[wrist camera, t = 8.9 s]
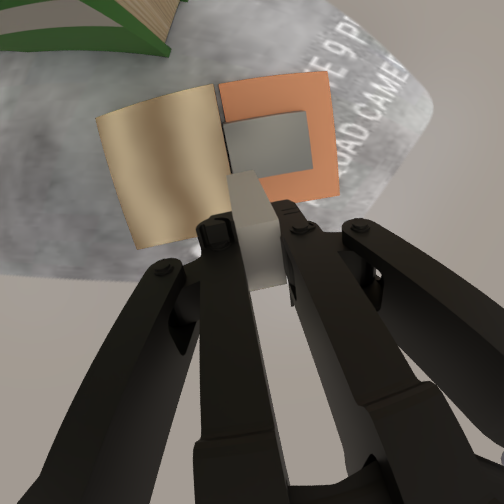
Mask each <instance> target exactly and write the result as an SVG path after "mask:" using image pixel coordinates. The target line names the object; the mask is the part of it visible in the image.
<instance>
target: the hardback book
mask: <svg viewBox="0 0 504 504" xmlns="http://www.w3.org/2000/svg"><path fill="white" fill-rule="evenodd" d="M180 1H183V2H188V0H0V50H1V51H19V52H38V51H60V50H89V51H112V52H126V53H136V54H146V55H154V56H161V57H168V58H169V55H170V52H171V48H169V47H168V46H167V45H166V44H165V41H166V38H167V35H168V32H169V29H170V26H171V23H172V21H173V18H174V15H175V12H176V9H177V7H178V4H179V2H180Z"/></svg>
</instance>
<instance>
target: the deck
mask: <svg viewBox="0 0 504 504" xmlns="http://www.w3.org/2000/svg"><path fill="white" fill-rule="evenodd" d="M95 119H96V123H97V127H98V131H99V135H100V138H101V142H102V146H103V149H104V153H105V156H106V160H107V163H108V167H109V170H110V173H111V177H112V180H113V183H114V186H115V189H116V192H117V195H118V198H119V201H120V204H121V207H122V210H123V213H124V216H125V219H126V221H127V224H128V227H129V230H130V232H131V235H132V238H133V241H134V243H135V246H136V248H137V250H139V249H143V248H148V247H152V246H157V245H161V244H166V243H171V242H175V241H180V240H185V239H189V238H194V237H198V236H197V233H196V227H197V225H198V224H199V223H201V222H202V221H204V220H206V219H208V218H209V217H210V216H211V215H215V214H220V213H225V212H230V211H232V209H231V203H230V196H229V190H228V184H227V178H226V175H231V170H230V165H229V160H228V155H227V150H226V145H225V140H224V135H223V130H222V125H221V120H220V115H219V110H218V105H217V100H216V95H215V90H214V85H213V84H209V85H204V86H200V87H195V88H191V89H187V90H183V91H179V92H175V93H171V94H167V95H164V96H160V97H156V98H153V99H150V100H146V101H143V102H140V103H137V104H133V105H130V106H127V107H124V108H121V109H119V110H116V111H113V112H110V113H107V114H105V115H102V116H99V117H97V118H95Z"/></svg>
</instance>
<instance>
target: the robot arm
mask: <svg viewBox="0 0 504 504" xmlns="http://www.w3.org/2000/svg"><path fill="white" fill-rule="evenodd" d="M226 178H227V184H228V190H229V196H230V203H231V209H232V211H230V212H225V213H220V214H215V215H211V216H210V217H209V218H208V219H206V220H204V221H202V222H201V223H199V224H198V225H197V227H196V233H197V236H198V240H199V243H200V247H201V257H200V258H198V259H196V260H195V261H193V262H191V263H188V264H186V265H182V263H181V261H180V260H178V259H176V258H168V259H162V260H159V261H157V262H156V263H154V264H153V265H151V266H150V267H149V268H148V269H147V271H146V272H145V274H144V275H143V277H142V278H141V280H140V282H139V283H138V285H137V287H136V288H135V290H134V291H133V293H132V295H131V296H130V298H129V299H128V301H127V303H126V305H125V306H124V308H123V310H122V311H121V313H120V314H119V316H118V318H117V320H116V321H115V323H114V325H113V327H112V328H111V330H110V332H109V333H108V335H107V337H106V339H105V341H104V342H103V344H102V346H101V348H100V349H99V352H98V353H97V355H96V357H95V359H94V360H93V362H92V364H91V366H90V368H89V370H88V372H87V374H86V376H85V378H84V379H83V381H82V383H81V385H80V388H79V389H78V391H77V393H76V395H75V397H74V399H73V401H72V403H71V405H70V407H69V409H68V412H67V414H66V416H65V418H64V420H63V422H62V424H61V427H60V429H59V431H58V433H57V435H56V438H55V440H54V443H53V444H52V447H51V449H50V451H49V454H48V456H47V459H46V461H45V463H44V466H43V468H42V471H41V473H40V476H39V477H38V478H37V480H36V481H35V482H34V483H33V484H32V486H31V487H30V488H29V489H28V490H27V492H26V493H25V494H24V495H23V497H22V498H21V499H20V500H19V501H18V503H17V504H149V503H150V500H151V496H152V492H153V489H154V485H155V481H156V478H157V474H158V470H159V467H160V463H161V459H162V456H163V452H164V449H165V446H166V442H167V439H168V435H169V432H170V428H171V425H172V422H173V418H174V415H175V412H176V408H177V404H178V402H179V398H180V395H181V392H182V388H183V385H184V382H185V378H186V375H187V372H188V369H189V365H190V362H191V359H192V356H193V352H194V349H195V346H196V343H197V340H198V337H199V334H200V405H201V438H200V440H198V441H197V442H195V445H194V449H193V474H194V491H195V504H504V452H503V454H502V457H501V461H502V464H503V465H500V464H498V463H495V462H493V461H490V460H488V459H485V458H483V457H481V456H478V455H476V454H474V452H473V450H472V448H471V446H470V444H469V442H468V440H467V438H466V436H465V434H464V432H463V430H462V428H461V426H460V424H459V422H458V421H457V419H456V417H455V415H454V413H453V411H452V410H451V408H450V406H449V404H448V402H447V401H446V399H445V397H444V395H443V393H442V392H441V391H440V389H441V390H442V391H443V392H444V393H445V394H446V395H447V396H448V398H449V399H451V401H452V402H453V403H454V404H455V405H456V406H457V407H458V408H459V409H460V410H461V411H462V412H463V413H464V414H465V416H466V417H467V418H468V419H469V420H470V421H471V422H472V423H473V424H474V425H475V426H476V427H477V428H478V429H479V430H480V431H481V432H482V433H483V434H484V435H485V436H487V437H488V438H489V439H491V440H492V441H493V442H495V443H496V444H498V445H500V446H501V447H503V448H504V308H502V307H501V306H500V305H499V304H497V303H496V302H495V301H493V300H492V299H491V298H489V297H488V296H487V295H485V294H484V293H482V292H481V291H480V290H478V289H477V288H476V287H474V286H473V285H471V284H470V283H468V282H467V281H466V280H464V279H463V278H462V277H460V276H459V275H457V274H456V273H454V272H453V271H451V270H450V269H448V268H447V267H446V266H444V265H443V264H441V263H440V262H438V261H437V260H435V259H433V258H432V257H430V256H429V255H427V254H426V253H424V252H423V251H421V250H420V249H418V248H416V247H415V246H413V245H412V244H410V243H408V242H406V241H405V240H404V239H402V238H400V237H399V236H397V235H395V234H394V233H392V232H390V231H389V230H387V229H385V228H384V227H382V226H380V225H379V224H377V223H375V222H373V221H371V220H367V219H363V218H359V219H358V218H354V219H351V220H348V221H346V222H344V223H343V225H342V232H323V231H322V230H321V228H320V227H319V226H318V225H317V224H316V223H314V222H311V221H307V220H306V218H305V217H304V215H303V214H302V212H301V211H300V209H299V208H298V207H297V205H296V204H295V202H293V201H290V200H288V199H285V200H280V201H275V202H270V201H269V199H268V197H267V195H266V193H265V191H264V189H263V187H262V185H261V183H260V181H259V179H258V177H257V176H256V174H255V172H254V170H251V171H246V172H241V173H236V174H231V175H226ZM376 269H377V270H379V271H380V273H381V274H382V276H381V278H380V277H379V276H377V275H376ZM286 276H287V278H288V282H289V290H290V300H291V306H294V305H295V308H296V311H297V314H298V316H299V319H300V322H301V325H302V328H303V331H304V333H305V336H306V339H307V342H308V345H309V348H310V351H311V353H312V356H313V359H314V362H315V365H316V368H317V371H318V374H319V377H320V380H321V383H322V386H323V388H324V391H325V394H326V397H327V400H328V403H329V406H330V409H331V412H332V415H333V418H334V421H335V424H336V427H337V430H338V434H339V436H340V440H341V443H342V446H343V449H344V455H345V464H346V470H347V473H348V477H347V478H346V479H344V480H342V481H340V482H339V483H336V484H332V485H316V486H315V485H314V486H290V482H289V478H288V474H287V470H286V466H285V461H284V456H283V451H282V447H281V442H280V437H279V432H278V428H277V423H276V419H275V413H274V409H273V404H272V399H271V394H270V389H269V385H268V380H267V375H266V370H265V365H264V360H263V355H262V350H261V346H260V340H259V335H258V331H257V326H256V321H255V316H254V311H253V306H252V301H251V296H250V291H255V290H260V289H264V288H269V287H274V286H278V285H283V284H287V279H286ZM398 346H399V347H400V348H401V349H402V350H403V351H404V352H405V353H406V354H407V355H408V356H409V357H410V358H411V359H412V360H413V361H414V362H415V363H416V364H417V365H418V366H419V367H420V368H421V369H422V370H423V371H424V372H425V374H426V375H427V376H428V377H429V378H430V379H431V380H432V381H433V382H434V383H435V384H434V383H432V382H431V381H424V382H421V381H419V380H418V379H417V377H416V376H415V375H414V373H413V371H412V369H411V368H410V366H409V364H408V362H407V361H406V359H405V357H404V355H403V354H402V352H401V350H400V349H399V347H398ZM437 386H438V387H439V388H440V389H439V388H438V387H437Z"/></svg>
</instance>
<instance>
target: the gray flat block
mask: <svg viewBox="0 0 504 504" xmlns="http://www.w3.org/2000/svg"><path fill="white" fill-rule="evenodd" d="M223 128H224V132H225V137H226V142H227V147H228V152H229V157H230V161H231V166H232V171H233V174H236V173H241V172H246V171H251V170H254V172H255V174H256V176H257V177H258V179H259V178H264V177H269V176H275V175H280V174H286V173H292V172H298V171H304V170H310V169H313V163H312V154H311V146H310V138H309V130H308V123H307V116H306V111H303V110H299V111H291V112H284V113H277V114H270V115H264V116H258V117H252V118H246V119H241V120H236V121H230V122H225V123H223Z"/></svg>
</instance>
